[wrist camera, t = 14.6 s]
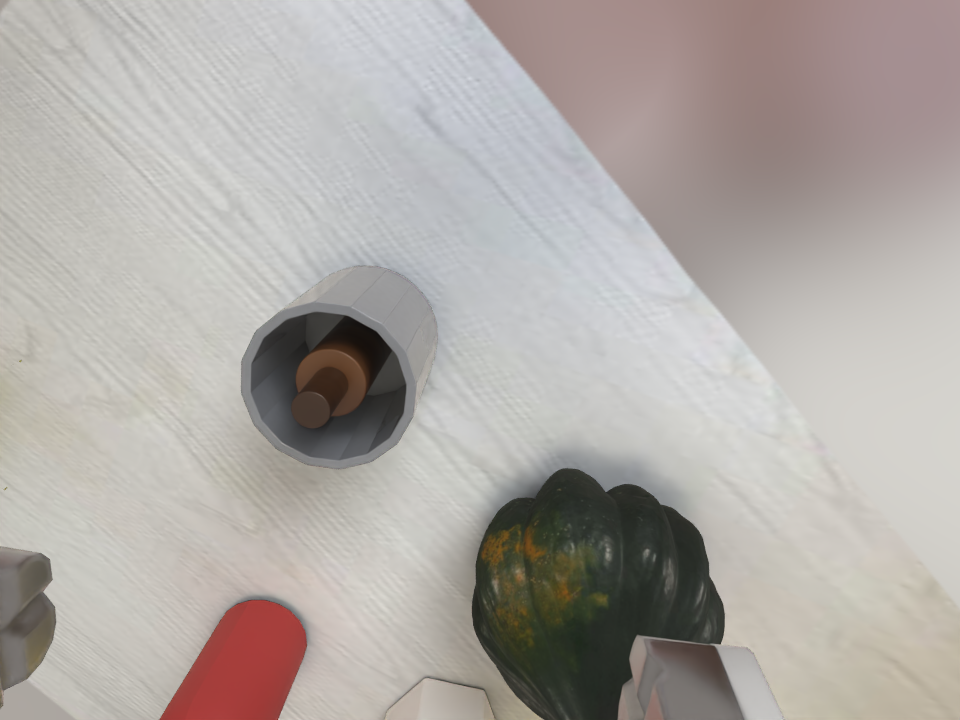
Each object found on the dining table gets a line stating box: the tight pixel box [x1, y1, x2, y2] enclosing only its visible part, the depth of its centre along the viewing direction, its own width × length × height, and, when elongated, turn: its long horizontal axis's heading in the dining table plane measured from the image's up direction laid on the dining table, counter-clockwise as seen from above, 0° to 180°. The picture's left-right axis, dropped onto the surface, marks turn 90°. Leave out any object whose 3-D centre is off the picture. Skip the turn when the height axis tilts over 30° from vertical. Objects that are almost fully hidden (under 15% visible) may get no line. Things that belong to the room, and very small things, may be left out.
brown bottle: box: [291, 316, 392, 428], centre depth 36 cm, size 4×4×12 cm
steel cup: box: [241, 265, 438, 469], centre depth 38 cm, size 9×9×10 cm
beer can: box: [159, 600, 307, 720], centre depth 45 cm, size 7×7×12 cm
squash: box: [472, 468, 725, 720], centre depth 41 cm, size 14×15×15 cm
